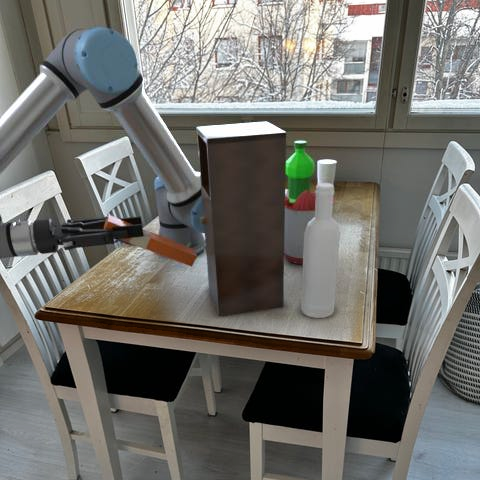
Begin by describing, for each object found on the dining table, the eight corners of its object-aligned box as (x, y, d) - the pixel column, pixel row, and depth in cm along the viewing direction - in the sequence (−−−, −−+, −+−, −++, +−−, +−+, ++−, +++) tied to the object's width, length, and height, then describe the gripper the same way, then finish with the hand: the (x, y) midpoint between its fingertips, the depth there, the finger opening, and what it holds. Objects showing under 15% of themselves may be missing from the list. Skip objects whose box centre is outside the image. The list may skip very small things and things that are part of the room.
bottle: (316, 322, 107) (324, 193, 91) (294, 308, 112) (297, 184, 96) (341, 311, 111) (353, 185, 95) (318, 298, 116) (325, 177, 100)
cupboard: (267, 281, 125) (267, 121, 104) (283, 307, 113) (286, 132, 92) (205, 290, 122) (191, 127, 101) (214, 317, 110) (201, 139, 89)
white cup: (337, 184, 201) (339, 160, 195) (330, 188, 195) (332, 164, 190) (320, 182, 204) (322, 158, 199) (313, 186, 199) (314, 162, 193)
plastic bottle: (281, 217, 168) (282, 144, 155) (288, 207, 176) (289, 138, 163) (308, 219, 165) (311, 145, 152) (314, 209, 173) (317, 139, 160)
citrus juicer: (311, 241, 148) (314, 177, 137) (340, 262, 134) (347, 193, 123) (266, 250, 143) (266, 185, 133) (292, 272, 129) (294, 201, 119)
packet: (103, 232, 104) (108, 221, 103) (103, 225, 108) (108, 214, 107) (191, 267, 113) (197, 256, 112) (189, 259, 117) (194, 249, 116)
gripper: (25, 235, 94) (141, 223, 98) (37, 208, 109) (138, 199, 113) (35, 269, 98) (146, 256, 102) (45, 238, 113) (142, 228, 117)
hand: (141, 226), depth 107 cm, fingers closed on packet, 5 cm apart
